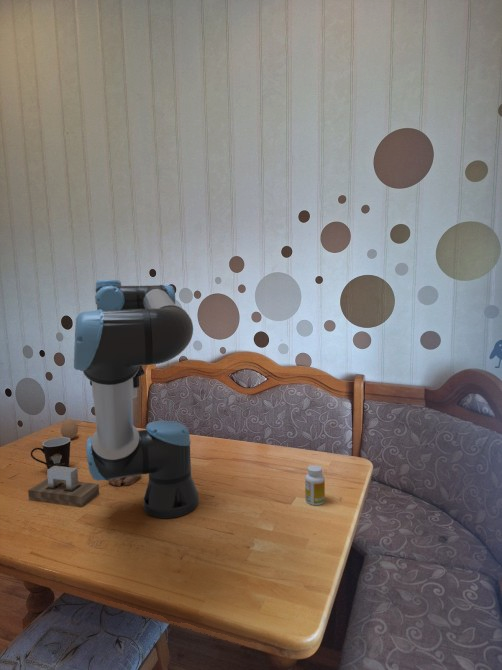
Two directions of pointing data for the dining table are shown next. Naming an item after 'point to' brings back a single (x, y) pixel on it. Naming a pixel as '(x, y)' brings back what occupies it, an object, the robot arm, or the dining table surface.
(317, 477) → the supplement bottle
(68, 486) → the clip
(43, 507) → the dining table surface
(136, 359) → the robot arm
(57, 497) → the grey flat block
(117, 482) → the cookie
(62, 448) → the coffee mug
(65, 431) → the egg
